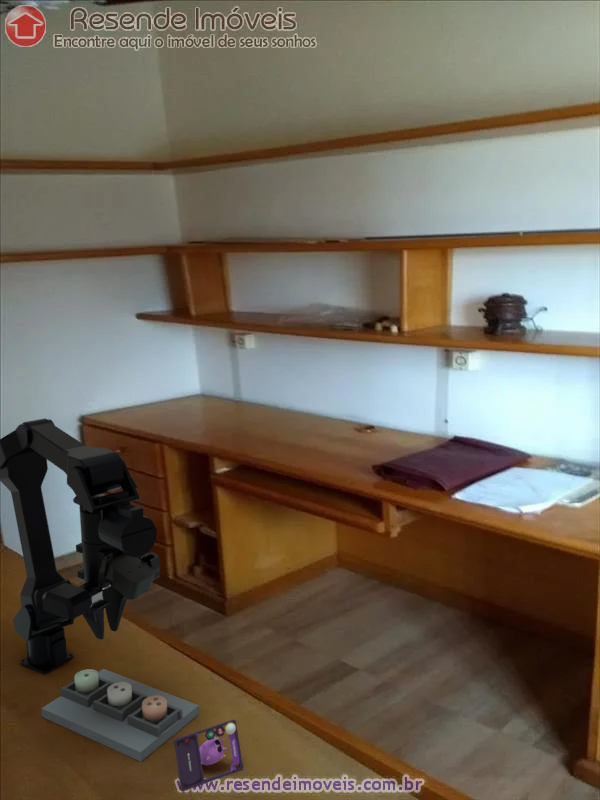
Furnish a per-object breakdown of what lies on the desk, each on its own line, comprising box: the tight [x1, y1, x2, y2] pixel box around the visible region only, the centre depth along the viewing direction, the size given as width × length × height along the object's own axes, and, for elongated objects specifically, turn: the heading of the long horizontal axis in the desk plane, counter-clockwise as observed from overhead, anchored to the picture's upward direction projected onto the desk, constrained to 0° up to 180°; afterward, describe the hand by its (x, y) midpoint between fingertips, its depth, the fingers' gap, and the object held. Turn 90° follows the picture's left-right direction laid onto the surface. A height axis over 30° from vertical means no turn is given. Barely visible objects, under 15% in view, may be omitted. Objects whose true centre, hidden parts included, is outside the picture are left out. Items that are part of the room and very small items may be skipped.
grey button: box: [107, 682, 132, 706], centre depth 120 cm, size 4×4×2 cm
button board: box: [41, 668, 200, 762], centre depth 121 cm, size 20×13×3 cm, turn 59°
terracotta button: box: [142, 695, 167, 721], centre depth 117 cm, size 4×4×2 cm
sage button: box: [74, 668, 99, 692], centre depth 124 cm, size 4×4×2 cm
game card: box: [173, 719, 244, 792], centre depth 109 cm, size 7×5×9 cm
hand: (107, 634), depth 119 cm, fingers open, 3 cm apart
